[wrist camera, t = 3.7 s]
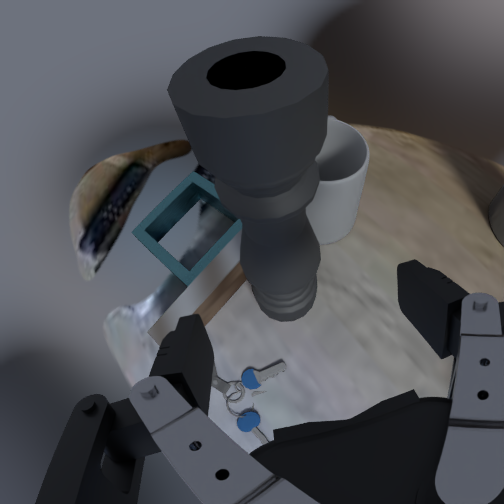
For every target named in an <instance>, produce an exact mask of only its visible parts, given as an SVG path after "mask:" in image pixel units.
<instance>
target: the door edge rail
mask: <svg viewBox="0 0 504 504" xmlns="http://www.w3.org/2000/svg"><path fill="white" fill-rule="evenodd" d="M241 234H242V229H241V230H240V231H239V232H238V233H237V234H236V235H235V236H234V238H233V239H232V240H231V241H230V242H229V243H228V244H227V245H226V246H225V247H224V248H223V249H222V250H221V252H220V253H219V254H218V255H217V256H216V257H215V258H214V259H213V260H212V261H211V262H210V263H209V264H208V266H207V267H206V268H205V269H204V270H203V271H202V272H201V273H200V274H199V275H198V276H197V278H196V279H195V280H194V281H193V282H192V283H191V284H190V285H189V286H188V287H187V288H186V290H185V291H184V292H183V293H182V294H181V295H180V296H179V297H178V298H177V299H176V301H175V302H174V303H173V304H172V305H171V306H170V307H169V308H168V309H167V311H166V312H165V313H164V314H163V315H162V316H161V317H160V318H159V319H158V321H157V322H156V323H155V324H154V325H153V326H152V327H151V328H150V329H149V331H148V332H147V333H148V334H149V335H150V336H151V337H152V338H153V339H154V340H155V341H156V343H157V344H158V345H159V346H160V345H161V342H162V340H163V338H164V337H165V336H166V335H167V334H168V333H169V332H170V331H175V329H176V326H177V323H178V320H179V318H180V317H183V316H188V315H193V314H199V315H200V317H201V319H202V321H203V324H204V327H205V326H206V324H207V323H208V322H209V321H210V320H211V319H212V318H213V317H214V316H215V314H216V313H217V312H218V311H219V310H220V309H221V308H222V307H223V306H224V304H225V303H226V302H227V301H228V300H229V299H230V298H231V297H232V295H233V294H234V293H235V292H236V291H237V290H238V289H239V288H240V286H241V285H242V284H243V283H244V282H245V281H246V280H247V278H246V276H245V274H244V272H243V269H242V267H241V265H240V244H241Z"/></svg>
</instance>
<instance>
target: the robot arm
mask: <svg viewBox="0 0 504 504" xmlns="http://www.w3.org/2000/svg"><path fill="white" fill-rule="evenodd" d="M489 220H490V224H491V227H492V229H493V232H494V234H495V235H496V237H497V239H498V240H499V241H500V243H501V244H502V245H503V246H504V185H503V187H502V188H501V189H500V191H499V192H498V193H497V195H496V196H495V198H494V199H493V200H492V202H491V203H490V206H489ZM397 280H398V302H399V306H400V309H401V311H402V313H403V314H404V315H405V316H406V317H407V319H408V320H409V321H410V322H411V323H412V324H413V326H414V327H415V328H416V329H417V330H418V331H419V333H420V334H421V335H422V336H423V337H424V339H425V340H426V341H427V342H428V343H429V345H430V346H431V347H432V348H433V350H434V351H435V352H436V353H437V355H438V356H439V357H440V358H441V359H444V358H446V357H448V356H450V355H453V356H454V361H453V367H452V373H451V379H450V385H449V391H448V396H447V398H442V397H424V398H419V397H418V396H417V394H416V392H415V391H414V389H413V390H411V391H408V392H406V393H403V394H400V395H398V396H395V397H392V398H389V399H387V400H384V401H381V402H380V403H378V404H376V405H374V406H373V407H371V408H369V409H367V410H366V411H364V412H362V413H360V414H358V415H357V416H355V417H353V418H351V419H347V420H337V421H322V422H308V423H303V424H299V425H294V426H290V427H285V428H280V429H275V430H273V433H274V440H273V441H270V442H268V443H266V444H264V445H262V446H260V447H259V448H257V449H255V450H254V451H252V452H251V453H250V454H248V453H247V452H246V451H245V450H243V449H242V448H241V447H240V446H239V445H238V444H237V443H235V442H234V441H233V440H232V439H231V438H230V437H229V436H228V435H227V434H226V433H224V432H223V431H222V430H221V429H220V428H219V427H218V426H217V425H216V424H215V423H214V422H213V421H212V420H211V419H210V418H209V417H208V410H209V401H210V392H211V383H212V374H213V366H214V352H213V348H212V345H211V342H210V340H209V337H208V334H207V332H206V329H205V327H204V324H203V321H202V319H201V317H200V315H199V314H193V315H188V316H183V317H180V318H179V320H178V323H177V326H176V329H175V331H170V332H169V333H168V334H167V335H166V336H165V337H164V338H163V340H162V342H161V345H160V347H159V349H160V350H158V353H157V357H156V358H155V361H154V364H153V366H152V369H151V372H150V375H149V377H147V378H145V379H143V380H141V381H139V382H138V383H136V384H135V385H134V386H133V387H132V389H131V390H130V393H129V398H127V399H124V400H121V401H118V402H114V403H111V404H110V403H109V402H108V400H107V399H106V398H105V396H103V395H100V394H94V395H90V396H87V397H86V398H83V399H82V400H81V401H79V402H78V403H77V405H76V406H75V408H74V410H73V412H72V414H71V416H70V418H69V421H68V423H67V425H66V427H65V430H64V432H63V434H62V436H61V439H60V441H59V443H58V446H57V448H56V450H55V453H54V456H53V458H52V460H51V463H50V465H49V468H48V470H47V473H46V475H45V478H44V481H43V483H42V486H41V489H40V492H39V494H38V497H37V500H36V503H35V504H137V502H138V495H139V489H140V483H141V477H142V471H143V465H144V460H145V456H147V455H151V454H154V453H158V452H161V451H162V452H163V454H164V455H165V456H166V458H167V459H168V461H169V462H170V463H171V464H172V466H173V467H174V469H175V470H176V471H177V473H178V474H179V475H180V476H181V478H182V479H183V480H184V482H185V483H186V484H187V486H188V487H189V488H190V489H191V490H192V492H193V493H194V494H195V495H196V496H197V498H198V499H199V500H200V501H201V502H202V504H504V302H500V303H498V301H497V300H496V299H495V298H494V297H493V296H491V295H489V294H486V293H473V294H469V293H468V292H467V291H465V290H464V289H463V288H462V287H460V286H459V285H458V284H456V283H455V282H453V281H452V280H451V279H450V278H448V277H447V276H446V275H444V274H443V273H442V272H440V271H438V270H435V269H432V268H429V267H428V268H427V267H425V266H424V265H423V264H421V263H420V262H419V261H417V260H415V259H414V260H411V261H408V262H404V263H401V264H399V265H398V267H397ZM103 452H104V453H105V458H104V461H103V465H102V468H101V465H100V464H101V459H102V455H103Z"/></svg>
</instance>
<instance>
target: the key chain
mask: <svg viewBox="0 0 504 504" xmlns="http://www.w3.org/2000/svg"><path fill="white" fill-rule="evenodd" d="M284 369H286V364H285V363H284V362H281V363H279V364H277V365H274V366H272V367H270V368H267V369H265V370H263V371H260V372H259V371H256V370H254V369H248V370H247V371H245V372H244V373H243V375H242V382H236V381H231V382H229V383H226V382H224V381H223V380H221V379H220V378H218V376H217V372H216V367H215V363H214V366H213V374H212V383H211V386H213V387H214V388H216V389H217V390H219V391H220V392H222V393H223V397H224V398H225V399H226V401H227V409H228V411H229V412H230V413H231V414H232V415H234V416H236V417H239V419H238V421H237V426H238V428H239V429H240V430H241V431H244V432H249V431H252V432H253V433H254V434H255V435H256V437H257V438H259V439H260V440H261V442H262V444H263V445H264V444H266V443H268V440H267V439H266V437H265V436H264V435H262V433H261V432H260V431H259V430H258V429H257V428H256V426H258V425H259V423H260V417H259V415H258V414H257V413H256V412H252V411H253V408H254V403H253V406H252V410H251V411H250V412H246V413H244V414H242V415H241V416H237V415H235V414H233V413H232V412H231V411H230V410H229V407H228V402H230V403H237V402H240V401H241V400H242V399H243V398H244V395H245V390H244V387H243V386H242V385H241V383H243V385H244V386H245V387H246V388H249V389H257V388H258V387H259V386H261V382H262V380H263V381H266V379H268V378H267V377H268V376H269V377H272V378H273V377H274V375H273V374H276V375H277V374H278V372H280V371H282V372H284ZM232 384H233V385H235V389H236V390H237V391H238V392H236V393H233V394H232V395H231V396H230V397H229V398H228V397H227V396H226V392H227V391H228V389H229V388H230V386H231V385H232ZM237 386H239V387H240V388H241V391H240V390H238V389H237ZM241 392H242V394H241V396H240V398H239V399H237V400H231V399H230V398H231V397H232V396H233V395H234V394H237V393H241ZM263 392H266V391H263ZM263 392H253V394H252V396H254V395H257V394H260V393H263ZM245 414H246V415H245ZM243 415H244V416H243ZM241 417H243V418H241Z"/></svg>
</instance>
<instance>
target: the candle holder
mask: <svg viewBox="0 0 504 504" xmlns="http://www.w3.org/2000/svg"><path fill="white" fill-rule="evenodd" d="M167 91H168V93H169V96H170V98H171V100H172V103H173V105H174V108H175V110H176V112H177V115H178V117H179V119H180V122H181V124H182V126H183V129H184V131H185V133H186V135H187V138H188V140H189V142H190V145H191V147H192V149H193V152H194V154H195V156H196V158H197V161H198V163H199V165H201V166H202V167H204V168H205V169H206V170H208V171H209V172H210V173H211V174H212V175H214V176H215V186H214V188H215V190H216V192H217V194H218V197H219V199H220V201H221V204H222V206H223V207H224V208H226V209H227V210H228V211H229V212H231V213H232V214H233V215H234V216H236V217H237V218H238V219H240V220H241V222H242V234H241V244H240V265H241V267H242V269H243V272H244V274H245V276H246V278H247V280H248V281H249V282H250V283H251V284H252V291H253V293H254V295H255V298H256V300H257V302H258V304H259V306H260V308H261V310H262V311H263V312H264V313H265V314H266V315H267V316H269V317H270V318H272V319H275V320H278V321H281V322H284V321H294V320H296V319H299V318H301V317H303V316H304V315H305V314H306V313H307V312H308V311H309V310H310V309H311V308H312V306H313V303H314V300H315V297H316V292H317V276H316V273H317V270H318V267H319V264H320V260H321V256H320V246H319V242H318V240H317V237H316V235H315V233H314V231H313V229H312V226H311V224H310V222H309V220H308V217H307V215H306V207H307V206H308V205H309V204H310V203H311V202H312V201H313V199H314V196H315V194H316V191H317V188H318V185H319V182H320V177H319V171H318V165H317V162H316V161H315V159H316V156H317V155H318V154H320V152H321V149H322V147H323V144H324V141H325V139H326V136H327V121H328V68H327V65H326V62H325V60H324V57H323V56H322V55H321V54H320V53H319V52H317V51H316V50H314V49H313V48H312V47H310V46H309V45H307V44H304V43H301V42H298V41H294V40H291V39H287V38H277V37H262V36H259V37H251V38H243V39H236V40H232V41H228V42H225V43H222V44H219V45H216V46H213V47H210V48H208V49H206V50H204V51H202V52H201V53H199V54H197V55H195V56H193V57H192V58H190V59H188V60H187V61H186V62H185V63H184V64H183V65H182V66H181V67H180V68H179V69H178V70H177V71H176V72H175V73H174V74H173V76H172V79H171V81H170V84H169V86H168V89H167Z"/></svg>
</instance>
